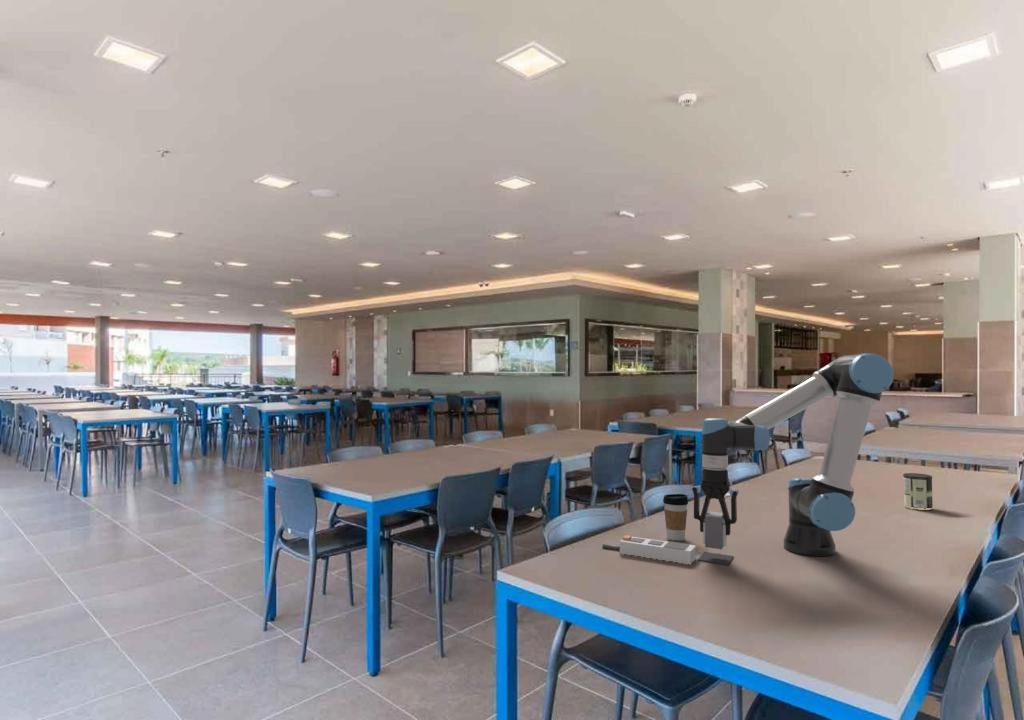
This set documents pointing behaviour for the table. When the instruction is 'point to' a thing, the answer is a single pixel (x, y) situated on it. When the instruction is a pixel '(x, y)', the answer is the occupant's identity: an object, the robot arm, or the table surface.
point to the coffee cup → (675, 515)
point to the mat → (716, 558)
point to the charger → (714, 530)
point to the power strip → (656, 549)
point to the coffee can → (917, 490)
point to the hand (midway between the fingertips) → (715, 543)
